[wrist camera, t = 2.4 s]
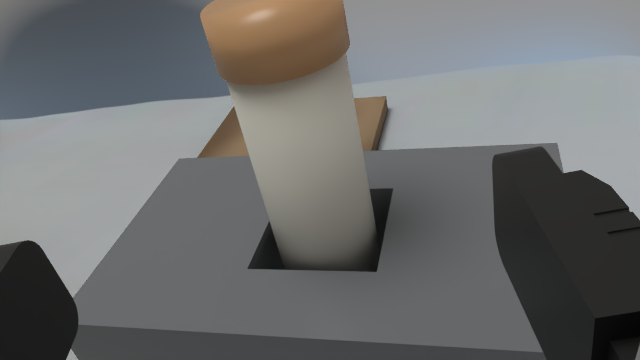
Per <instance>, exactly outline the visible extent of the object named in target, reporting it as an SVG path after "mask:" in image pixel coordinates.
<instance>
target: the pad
mask: <svg viewBox="0 0 640 360" xmlns="http://www.w3.org/2000/svg"><path fill="white" fill-rule="evenodd" d="M354 103H355V108H356V114H357V120H358V126H359V132H360V137H361V143H362V149H363V151H377V147H378V144H379V140H380V136H381V132H382V128H383V124H384V121H385V117H386V113H387V109H388V108H387V100H386V96H383V97H369V98H355V99H354ZM233 156H249V153H248V150H247V146H246V143H245V140H244V137H243V133H242V130H241V127H240V124H239V120H238V117H237V114H236V111H235V107H233V108H232V110H231V111H230V113H229V114H228V115H227V117H226V118H225V120H224V121H223V122H222V124H221V125H220V127H219V128H218V129H217V131H216V132H215V134H214V135H213V136H212V138H211V139H210V141H209V142H208V143H207V145H206V146H205V148H204V149H203V150H202V152H201V153H200V155H199V156H198V157H197V158H209V157H233Z"/></svg>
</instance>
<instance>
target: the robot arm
mask: <svg viewBox="0 0 640 360" xmlns="http://www.w3.org/2000/svg"><path fill="white" fill-rule="evenodd" d="M492 178H493V204H494V228H495V237H496V242H497V247H498V251H499V254H500V258H501V260H502V263H503V265H504V268H505V270H506V272H507V274H508V276H509V279H510V281H511V283H512V285H513V287H514V290H515V292H516V294H517V296H518V298H519V301H520V303H521V305H522V307H523V309H524V311H525V314H526V316H527V318H528V320H529V322H530V325H531V327H532V329H533V331H534V333H535V335H536V338H537V340H538V342H539V344H540V346H541V349H542V351H543V353H544V355H545V357H546V360H640V220H639V219H638V218H637V217H636V215H635V214H634V213H633V212H630V211H629V207H628V206H627V205H626V204H625V202H624V201H623V200H622V199H621V198H620V197H619V195H618V194H617V193H616V192H615V191H614V189H613V188H612V187H611V186H610V185H608V184H606V183H604V182H602V181H601V180H599V179H597V178H595V177H593V176H592V175H590V174H588V173H586V172H584V171H582V170H579V171H574V172H568V173H563V172H562V171H561V170H560V168H559V167H558V166H557V164H556V163H555V162H554V160H553V159H552V158H551V156H550V155H549V154H548V152H547V151H546V150H545V149H544V148H543V147H541V146H539V147H533V148H528V149H523V150H517V151H512V152H506V153H501V154H496V155H494V157H493V160H492ZM78 321H79V319H78V311H77V307H76V304H75V302H74V300H73V298H72V296H71V295H70V293H69V292H68V290H67V288H66V287H65V285H64V284H63V282H62V280H61V279H60V277H59V276H58V274H57V272H56V271H55V269H54V267H53V266H52V264H51V263H50V261H49V259H48V258H47V256H46V255H45V253H44V251H43V250H42V249H41V247H40V246H39V245H38V244H37V243H35V242H33V241H29V240H28V241H22V242H17V243H11V244H6V245H0V360H66V358H67V356H68V353H69V351H70V349H71V346H72V344H73V342H74V339H75V337H76V334H77V331H78Z"/></svg>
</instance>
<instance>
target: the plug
mask: <svg viewBox="0 0 640 360" xmlns="http://www.w3.org/2000/svg"><path fill="white" fill-rule="evenodd" d="M200 18H201V21H202V24H203V27H204V30H205V34H206V37H207V40H208V43H209V46H210V50H211V53H212V56H213V59H214V62H215V65H216V69H217V72H218V74H219V76H220V77H221V78H223V79H224V80H226V81H227V85H228V88H229V91H230V94H231V98H232V101H233V104H234V107H235V111H236V114H237V117H238V120H239V124H240V127H241V130H242V133H243V137H244V140H245V143H246V146H247V150H248V153H249V156H250V159H251V163H252V166H253V169H254V172H255V176H256V179H257V182H258V185H259V188H260V192H261V195H262V198H263V201H264V205H265V208H266V211H267V214H268V218H269V221H270V224H271V227H272V231H273V234H274V237H275V240H276V244H277V247H278V250H279V253H280V257H281V260H282V263H283V266H284V270H316V271H360V272H377V268H378V263H379V258H380V247H379V241H378V236H377V230H376V224H375V218H374V213H373V207H372V201H371V195H370V189H369V184H368V178H367V172H366V166H365V161H364V155H363V149H362V143H361V137H360V132H359V126H358V120H357V114H356V108H355V103H354V97H353V91H352V85H351V80H350V74H349V68H348V62H347V56H346V52H347V50H348V48H349V45H350V41H349V35H348V29H347V23H346V16H345V10H344V5H343V0H215V1H213V2H211V3H210V4H209V5H207V6H206V7H205V8H204V9H203V10H202V12H201V14H200Z"/></svg>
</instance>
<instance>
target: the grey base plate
mask: <svg viewBox="0 0 640 360" xmlns="http://www.w3.org/2000/svg"><path fill="white" fill-rule="evenodd" d="M539 146H541V147H543V148H544V149H545V150H546V151H547V152H548V154H549V155H550V156H551V158H552V159H553V160H554V162H555V163H556V164H557V166H558V167H559V168H560V170H561V171H562V172H563V168H562V163H561V159H560V154H559V149H558V145H557V143H546V144H522V145H498V146H474V147H449V148H425V149H401V150H377V151H363V155H364V161H365V166H366V172H367V178H368V184H369V189H370V195H371V201H372V207H373V213H374V218H375V224H376V230H377V236H378V241H379V247H380V258H379V263H378V268H377V272H360V271H316V270H284V266H283V263H282V260H281V257H280V253H279V250H278V247H277V244H276V240H275V237H274V234H273V231H272V227H271V224H270V221H269V218H268V214H267V211H266V208H265V205H264V201H263V198H262V195H261V192H260V188H259V185H258V182H257V179H256V176H255V172H254V169H253V166H252V163H251V159H250V156H233V157H209V158H185V159H179V160H178V161H177V162H176V163H175V165H174V166H173V167H172V169H171V170H170V171H169V173H168V174H167V175H166V177H165V178H164V179H163V181H162V182H161V183H160V185H159V186H158V187H157V188H156V190H155V191H154V192H153V194H152V195H151V196H150V198H149V199H148V200H147V202H146V203H145V204H144V206H143V207H142V208H141V209H140V211H139V212H138V213H137V215H136V216H135V217H134V219H133V220H132V221H131V223H130V224H129V225H128V227H127V228H126V229H125V231H124V232H123V233H122V234H121V236H120V237H119V238H118V240H117V241H116V242H115V244H114V245H113V246H112V248H111V249H110V250H109V252H108V253H107V254H106V255H105V257H104V258H103V259H102V261H101V262H100V263H99V265H98V266H97V267H96V269H95V270H94V271H93V273H92V274H91V275H90V277H89V278H88V279H87V280H86V282H85V283H84V284H83V286H82V287H81V288H80V290H79V291H78V292H77V294H76V295H75V296H74V298H73V300H74V302H75V304H76V307H77V311H78V319H79V321H78V331H77V334H76V337H75V339H74V342H73V344H72V346H71V349H72V351H73V352H74V354H75V355H76V357H77V358H78V359H79V360H546V357H545V355H544V353H543V351H542V349H541V346H540V344H539V342H538V340H537V338H536V335H535V333H534V331H533V329H532V327H531V325H530V322H529V320H528V318H527V316H526V314H525V311H524V309H523V307H522V305H521V303H520V301H519V298H518V296H517V294H516V292H515V290H514V287H513V285H512V283H511V281H510V279H509V276H508V274H507V272H506V270H505V268H504V265H503V263H502V260H501V258H500V254H499V251H498V247H497V242H496V237H495V228H494V204H493V178H492V160H493V157H494V155H496V154H501V153H506V152H512V151H517V150H523V149H528V148H533V147H539Z"/></svg>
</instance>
